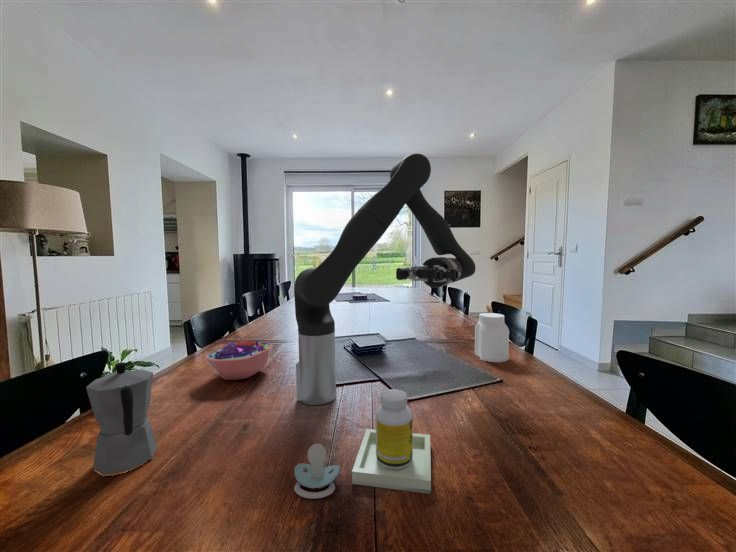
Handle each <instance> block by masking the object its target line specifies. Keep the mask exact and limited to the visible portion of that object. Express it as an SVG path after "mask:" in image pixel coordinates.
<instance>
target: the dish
mask: <svg viewBox="0 0 736 552" xmlns="http://www.w3.org/2000/svg"><path fill="white" fill-rule="evenodd" d="M412 438H413V457H412V461H411V463H410V464H409V465H408V466H406V467H404V468H401V469H390V468H386V467H384V466H382V465H381V464H380V463H379V462H378V460H377V458H376V428H375V429H374V428H373V429H372V428H366V429H365V433H364V436H363V438H362V441H361V443H360V447H359V450H358V453H357V455H356V458H355V461H354V464H353V467H352V470H351V484H352V485H358V486H365V487H366V486H367V487H373V488H382V489H390V490H396V491H397V490H398V491H406V492H413V493H418V494H419V493H420V494H421V493H422V494H428V495H429V494H430V495H431V494H432V469H431V468H432V466H431V465H432V463H431V434H428V433H427V434H426V433H425V434H424V433H413V432H412Z"/></svg>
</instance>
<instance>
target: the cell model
mask: <svg viewBox="0 0 736 552" xmlns="http://www.w3.org/2000/svg"><path fill="white" fill-rule="evenodd" d="M272 355H273V344H272V343H270V342H266V341H258V340H256V341H250V342H249V341H248V342H246V341H245V342H243V341H242V342H233V341H230V342H228V343H226V344H225V345H222V346H220V347H218V348H216V349H213V350H212V351H210V352H208V353H206V354H205V355H204V359H205V361H206V362H207V364H208V365H209V366H210V368H211V369H212V370H213V371H215V373H216V374H217V375H218V376H219V377H220V378H222V379H223V380H227V381H240V380H246V379H248V378H251V377H252V376H255V375H256V374H257V373H259V372H261V371H262V370H263V369H264V368H265V367H266V366H267V364H268V363H269V361H270V360H271V358H272Z"/></svg>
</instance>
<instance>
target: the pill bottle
mask: <svg viewBox="0 0 736 552" xmlns="http://www.w3.org/2000/svg"><path fill="white" fill-rule="evenodd" d="M379 396H380V398H379V400H380V401H379V402H380V406H378V408H377V409H376V411H375V430H376V458H377V460H378V462H379V463H380V464H381V465H382V466H384V467H386V468H390V469H401V468H404V467H406V466H408V465H409V464H410V463H411V461H412V457H413V438H412V433H413V412H412V410H411V408H410V407H409V406H408V394H407V393H406V392H405V391H403V390H400V389H395V388H394V389H393V388H392V389H391V388H389V389H385V390H383V391H381V393H380V395H379Z"/></svg>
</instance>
